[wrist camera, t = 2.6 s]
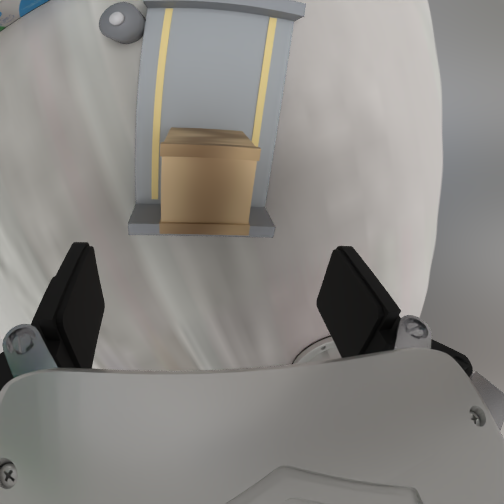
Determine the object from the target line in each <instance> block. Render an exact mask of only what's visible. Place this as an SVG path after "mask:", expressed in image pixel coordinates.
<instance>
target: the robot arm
mask: <svg viewBox="0 0 504 504" xmlns="http://www.w3.org/2000/svg"><path fill="white" fill-rule="evenodd" d="M104 308H105V304H104V298H103V294H102V289H101V284H100V280H99V275H98V269H97V264H96V259H95V253H94V248H93V247H92V246H89V244H88V243H87V242H74V243H73V244H72V246H71V248H70V250H69V251H68V253H67V255H66V257H65V259H64V261H63V263H62V265H61V266H60V268H59V270H58V272H57V274H56V276H55V277H53V278H52V280H51V282H50V284H49V286H48V288H47V290H46V292H45V294H44V296H43V298H42V300H41V303H40V305H39V307H38V309H37V312H36V314H35V316H34V318H33V321H32V323H31V325H29V324H21V325H18V326H15V327H14V328H12V329H11V330H10V331H9V332H8V333H7V334H6V336H5V337H4V339H3V350H4V352H2V353H1V354H0V504H504V439H503V436H502V434H501V432H500V430H501V427H502V424H503V421H504V393H503V392H502V391H500V390H499V389H498V388H497V387H495V386H494V385H493V384H491V383H490V382H489V381H488V380H487V379H485V378H484V377H483V376H482V375H480V374H479V373H478V372H477V371H475V372H474V373H472V371H473V370H472V365H471V363H470V361H469V360H468V358H467V357H466V356H465V355H463V354H461V353H459V352H457V351H455V350H453V349H451V348H449V347H447V346H445V345H443V344H440V343H439V342H436V341H434V340H432V339H431V338H432V333H431V330H430V327H429V326H428V325H427V324H426V322H424V321H423V320H422V319H420V318H418V317H416V316H412V315H407V316H403V317H402V318H400V317H399V314H400V312H401V310H400V309H399V307H398V306H397V304H396V303H395V302H394V300H393V299H392V298H391V296H390V295H389V294H388V292H387V291H386V289H385V288H384V287H383V285H382V284H381V283H380V282H379V280H378V279H377V278H376V276H375V275H374V274H373V272H372V271H371V270H370V268H369V267H368V266H367V265H366V263H365V262H364V261H363V260H362V258H361V257H360V256H359V254H358V253H357V252H356V251H355V249H354V248H353V247H351V246H338V247H337V248H336V249H335V250H333V252H332V255H331V258H330V261H329V264H328V267H327V271H326V274H325V277H324V280H323V283H322V286H321V289H320V292H319V295H318V298H317V308H318V310H319V312H320V314H321V316H322V318H323V320H324V322H325V324H326V326H327V328H328V330H329V332H330V335H331V337H328V338H326V339H323V340H321V341H319V342H317V343H315V344H313V345H311V346H310V347H308V348H307V349H306V350H304V351H303V352H302V353H301V354H300V355H299V356H298V357H297V358H296V360H295V361H294V363H293V364H290V365H280V366H269V367H257V368H243V369H225V370H199V371H140V370H108V369H92V364H93V358H94V353H95V348H96V344H97V339H98V334H99V330H100V326H101V321H102V317H103V313H104Z"/></svg>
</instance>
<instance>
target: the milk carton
mask: <svg viewBox="0 0 504 504" xmlns="http://www.w3.org/2000/svg"><path fill="white" fill-rule="evenodd" d="M47 1H49V0H0V31H1V30H2V29H4V28H5V27H7V26H8V25H10V24H11V23H13V22H14V21H16V20H17V19H19V18H20V17H22V16H23V15H25V14H27V13H28V12H30V11H31V10H33V9H35V8H37V7H38V6H40V5H42V4H44V3H45V2H47Z"/></svg>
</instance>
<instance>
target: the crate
mask: <svg viewBox="0 0 504 504" xmlns="http://www.w3.org/2000/svg"><path fill="white" fill-rule="evenodd" d="M260 153H261V148H260V147H256V146H255V145H254V144H253V143H252V142H251V140H250V139H249V138H248V137H247V136H246V135H245V134H244V132H243V131H234V130H221V129H203V128H175V127H171V128H170V130H169V132H168V134H167V136H166V138H165V140H164V142H161V144H160V156H162V165H161V219H160V222H159V232H160V234H201V235H244V236H249V230H250V224H249V215H250V208H251V200H252V193H253V186H254V179H255V172H256V165H257V161H259V160H260Z"/></svg>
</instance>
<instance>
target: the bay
mask: <svg viewBox="0 0 504 504" xmlns="http://www.w3.org/2000/svg"><path fill="white" fill-rule="evenodd" d="M143 2H144V4H145V5H146V7H147V8H148V9H147V15H146V19H145V18H144V16H143V15H142V14H141V13H140V12H139V11H138V10H137V8H136V7H135V6H134V5H132V4H130V3H127V2H120V3H116V4H114V5H112V6H110V7H109V8H107V9H106V10H105V11H104V13H103V14H102V16H101V18H100V21H99V28H100V31H101V32H102V34H103V35H105V36H106V37H109V38H111V39H113V40H115V41H118V42H120V43H123V44H130V43H133V42H136V41H137V40H139V39H140V38H141V37H142V36H143V43H142V51H141V60H140V70H139V81H138V94H137V111H136V137H135V191H136V205H135V207H134V210H133V212H132V215H131V217H130V220H129V222H128V231H129V235H184V236H232V237H271V238H273V236H274V231H275V226H274V224H273V222H272V220H271V218H270V216H269V214H268V212H267V210H266V208H265V204H266V198H267V192H268V185H269V179H270V173H271V167H272V160H273V154H274V148H275V141H276V135H277V129H278V122H279V116H280V110H281V103H282V97H283V90H284V84H285V77H286V71H287V64H288V58H289V51H290V45H291V38H292V32H293V25H294V21H296V20H298V19H300V18H302V17H304V13H305V7H306V4H305V3H301V2H296V1H292V0H143ZM171 127H175V128H203V129H221V130H234V131H243V132H244V134H245V135H246V136H247V137H248V138H249V139H250V140H251V142H252V143H253V144H254V145H255V146H256V147H260V148H261V153H260V160H259V161H257V165H256V172H255V179H254V186H253V193H252V200H251V208H250V215H249V224H250V230H249V236H244V235H201V234H160V232H159V222H160V219H161V165H162V156H160V144H161V142H164V140H165V138H166V136H167V134H168V132H169V130H170V128H171Z"/></svg>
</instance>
